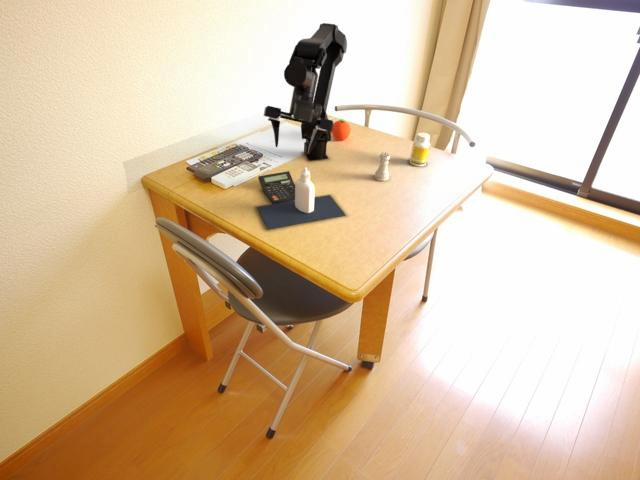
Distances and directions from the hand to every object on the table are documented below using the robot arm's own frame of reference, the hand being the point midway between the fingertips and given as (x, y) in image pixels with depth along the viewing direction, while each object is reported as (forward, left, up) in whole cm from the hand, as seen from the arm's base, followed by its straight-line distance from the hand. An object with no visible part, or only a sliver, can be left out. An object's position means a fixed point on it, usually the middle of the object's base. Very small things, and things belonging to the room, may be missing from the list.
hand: (292, 150), depth 113 cm
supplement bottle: (-44, -2, -11) cm, 46 cm away
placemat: (+3, +15, -11) cm, 18 cm away
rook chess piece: (-27, +4, -11) cm, 30 cm away
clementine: (-27, -27, -11) cm, 40 cm away
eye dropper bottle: (+1, +14, -10) cm, 18 cm away
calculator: (+4, +3, -11) cm, 12 cm away
